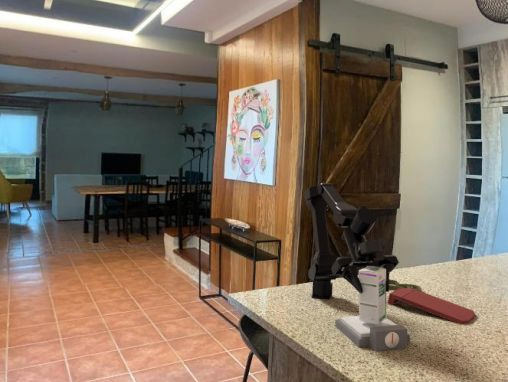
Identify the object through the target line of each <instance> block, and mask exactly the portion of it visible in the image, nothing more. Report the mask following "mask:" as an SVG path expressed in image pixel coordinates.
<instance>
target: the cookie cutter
mask: <svg viewBox="0 0 508 382" xmlns="http://www.w3.org/2000/svg"><path fill="white" fill-rule="evenodd" d="M399 288H400V289H402V288H407V289H415V290H418V291H421V292H423V291H422V290H423V289H422V287H421V286H419V285H416V284H413V283H412V284H411V283H410V284H409V283H400V282H399V281H397V280H396V279H395V280H394V279H389V290H391V291H392V290H393V291H395V290H397V289H399Z"/></svg>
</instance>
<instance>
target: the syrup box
mask: <svg viewBox="0 0 508 382" xmlns="http://www.w3.org/2000/svg"><path fill="white" fill-rule="evenodd" d="M358 278H359V280H360V283H361V286H362V289H363V293H362V294H360V293H359V292H358V316H359V320H360V321H363V322H367V323H371V324H376V325H379V324H380V323H381V322H382V321H384V320H385V319H386V318H387V292H386V269H385V268H381V267H375V266H366V267H365V268H360V269H359V270H358Z"/></svg>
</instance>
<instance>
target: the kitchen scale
mask: <svg viewBox="0 0 508 382" xmlns="http://www.w3.org/2000/svg"><path fill="white" fill-rule="evenodd" d="M334 321H335V325H334V327H335V328H336V329H337V330H338V331H340V332H341V333H342V334H343V335H344V336H346V337H347V338H348V339H349V340H350V341H351V342H353V344H354V345H356V346H357V347H358V348H363V347H370V348H371V349H372V350H373V351H374V352H380V351H389V350H398V349H399V350H401V349H407V345H408V344H407V343H410V342H411V334H410V333H408V328H407V327H405V326H403V324H397V323H395V322H393V321H392V320H390V319H389V318H387V317H386V319H385V320H384V321H382V322H381V323H380V324H379V325H376V324H371V323H367V322H363V321H360V320H359V315H355V316H341V317H340V318H339V319H335V320H334Z"/></svg>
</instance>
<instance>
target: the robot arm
mask: <svg viewBox="0 0 508 382" xmlns="http://www.w3.org/2000/svg"><path fill="white" fill-rule="evenodd" d="M303 197H304V200H305V203H306V207H307V208H308V210H309V211H310V212H311V217H312V227H313V237H314V246H315V253H314V256H313V258H312V259H311V260H312V261H311V262H312V263H311V266H310V268H309V270H308V272H307V273H308V274H307V275H308V278H309V280H311V281H312V291H311V292H312V293H311V298H316V299H324V300H330V299H331V297H332V296H333V287H334V285H333V282H332V281H333V280H334V281H336V279H337V277H338V276H339V278H343V279H344V280H346V281H347V282H348V283H349V284H350V285H351V286H352V287H353V288H354V289H355V290H356V291H357V292H358V294H359V293H360V294H362V293H363V289H362V286H361V283H360V280H359V274H358V272H357V269H363V268H365V267H366V266H375V267H381V268H385V269H386V293H389V292H390V289H389V285H390V284H389V280H390V273H391V272H393V270H395V268H396V267H397V266H398V265H399V263H400V261H399V259H398V257H397V256H396V255H394V254H389V255H382V257H380V259H379V260H375V259H376V258H377V257H378V254H379V253H383V251H384V250H387V247H388V246H387V242H386V241H385V239H384V237H383V238H382V237H381V238H377V239H375V240H367V239H366V236H365V235H368V234H369V232H370V231H371V229H372V228H373V227H374V225H375V223H376V222H377V221H378V216H377V214H376V213H375V212H374V211H373V210H371V209H370V208H368V207H367V205H359V206H358V207H357V208H356V207H355V205H352V204H349V203H347V202H346V201H345V200H344V198H343V197H342V196H341V194H339V192H338V191H337V189H335V185H334V184H333V183H329V182H325V183H322V182H321V183H319V184H317V185H315V186H311V187H308V188H307V189H305V191H304V194H303ZM327 207H329V208H330V209H331V210H332V212H333V217H332V219H333V221H334V223H335V225H336V226H337V227H338V228H344V231H343V232H342V235H341V240H345V243H346V245H347V248H348V251H347V255H348V256H338V257H337V256H336V254H335V253H332V251H331V249H330V242H329V233H328V225H327V216H326V208H327ZM349 256H351V257H349Z"/></svg>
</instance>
